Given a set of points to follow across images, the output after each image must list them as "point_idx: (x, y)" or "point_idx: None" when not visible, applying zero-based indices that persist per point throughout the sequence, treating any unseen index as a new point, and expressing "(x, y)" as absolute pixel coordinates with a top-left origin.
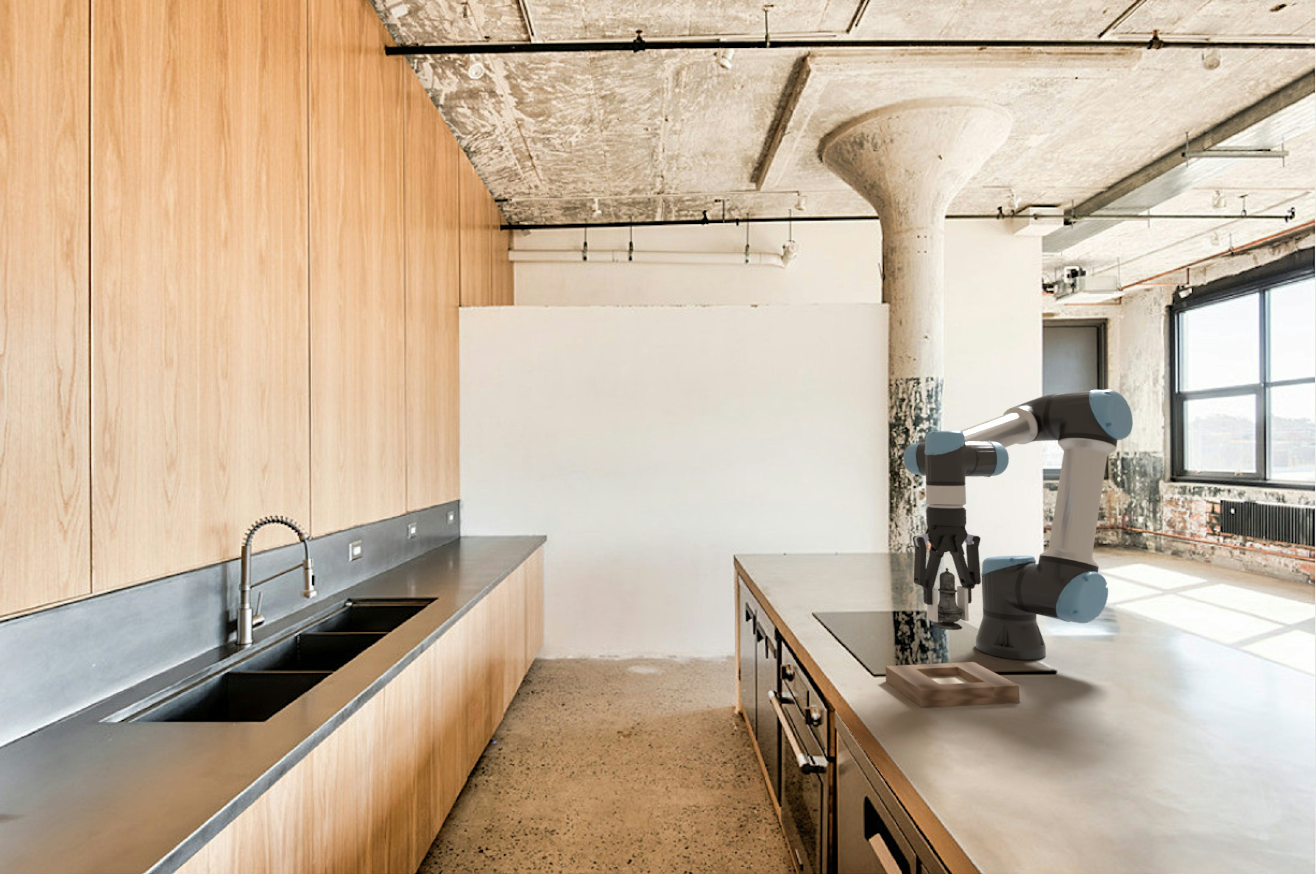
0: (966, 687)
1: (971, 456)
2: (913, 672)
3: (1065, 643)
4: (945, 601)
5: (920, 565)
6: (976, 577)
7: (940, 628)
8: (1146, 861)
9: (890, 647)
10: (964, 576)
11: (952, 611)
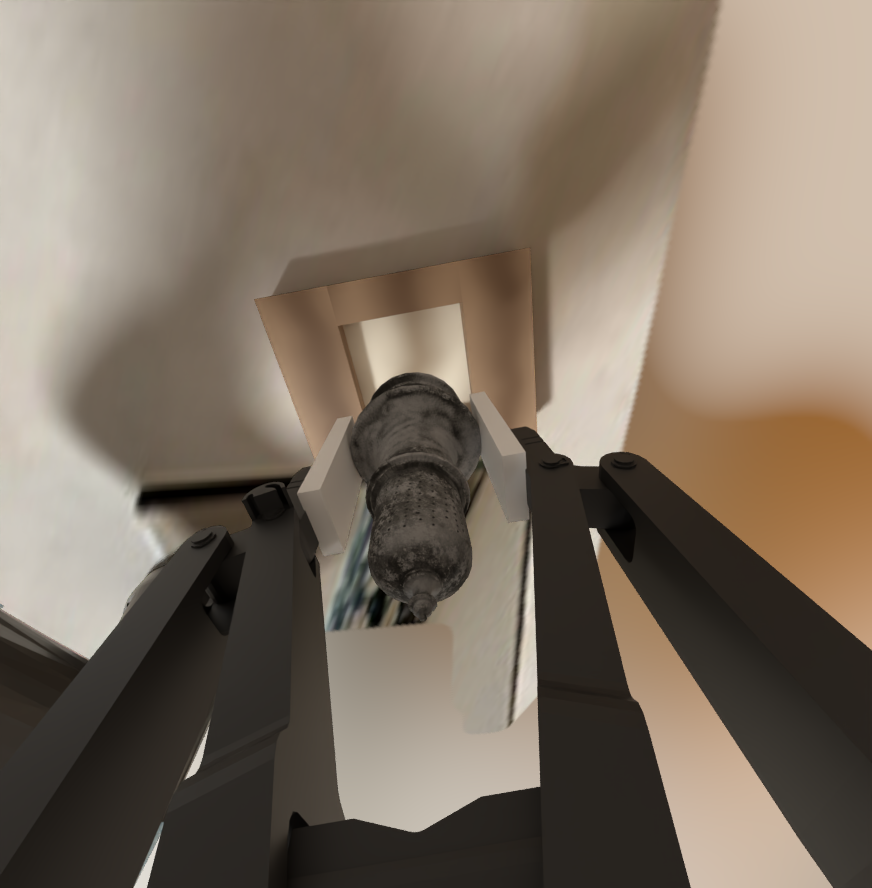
0: (402, 278)
1: None
2: (491, 393)
3: (86, 652)
4: (438, 442)
5: (754, 553)
6: (198, 560)
7: (454, 391)
8: None
9: (438, 605)
10: (292, 550)
11: (416, 394)
